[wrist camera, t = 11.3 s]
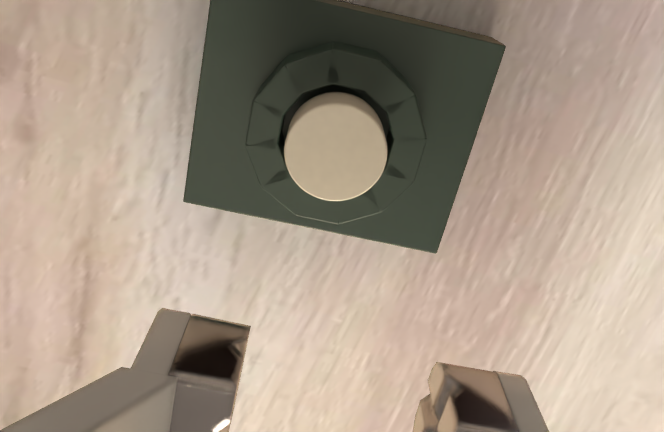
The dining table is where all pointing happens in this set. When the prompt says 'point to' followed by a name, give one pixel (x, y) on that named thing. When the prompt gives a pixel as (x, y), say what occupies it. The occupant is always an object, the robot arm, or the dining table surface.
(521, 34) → the dining table surface
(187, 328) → the robot arm
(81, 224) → the dining table surface
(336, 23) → the control block
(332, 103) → the button
